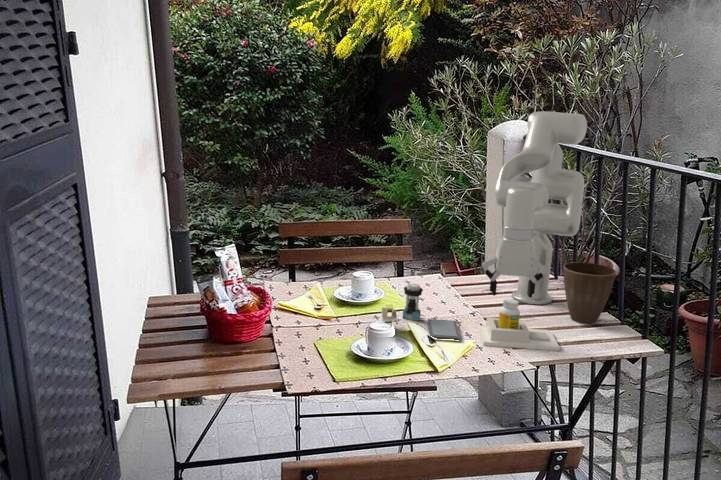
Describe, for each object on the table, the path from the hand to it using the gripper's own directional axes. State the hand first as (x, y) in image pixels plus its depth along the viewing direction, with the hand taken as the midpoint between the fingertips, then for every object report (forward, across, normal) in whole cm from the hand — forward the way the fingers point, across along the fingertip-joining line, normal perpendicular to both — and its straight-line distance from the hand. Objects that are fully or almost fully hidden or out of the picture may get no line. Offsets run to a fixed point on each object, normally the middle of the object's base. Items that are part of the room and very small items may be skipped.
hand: (511, 295), depth 198 cm
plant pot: (+13, -26, -20) cm, 35 cm away
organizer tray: (+12, -3, +1) cm, 13 cm away
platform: (+12, +33, +1) cm, 35 cm away
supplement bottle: (+11, 0, +1) cm, 11 cm away
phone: (+12, +17, -1) cm, 21 cm away
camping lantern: (+12, +25, -10) cm, 30 cm away
